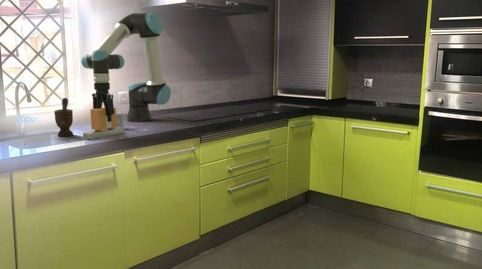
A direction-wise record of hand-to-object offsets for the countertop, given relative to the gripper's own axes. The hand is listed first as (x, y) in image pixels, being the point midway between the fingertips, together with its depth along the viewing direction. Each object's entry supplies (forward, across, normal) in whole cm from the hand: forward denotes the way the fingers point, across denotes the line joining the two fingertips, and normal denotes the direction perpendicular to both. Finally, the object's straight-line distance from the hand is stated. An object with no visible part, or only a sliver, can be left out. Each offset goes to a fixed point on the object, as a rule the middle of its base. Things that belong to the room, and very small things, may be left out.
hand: (104, 127), depth 225 cm
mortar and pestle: (+5, -16, -11) cm, 20 cm away
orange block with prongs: (+3, 0, 0) cm, 3 cm away
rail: (+4, 0, 0) cm, 4 cm away
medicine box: (+5, -12, +17) cm, 21 cm away
